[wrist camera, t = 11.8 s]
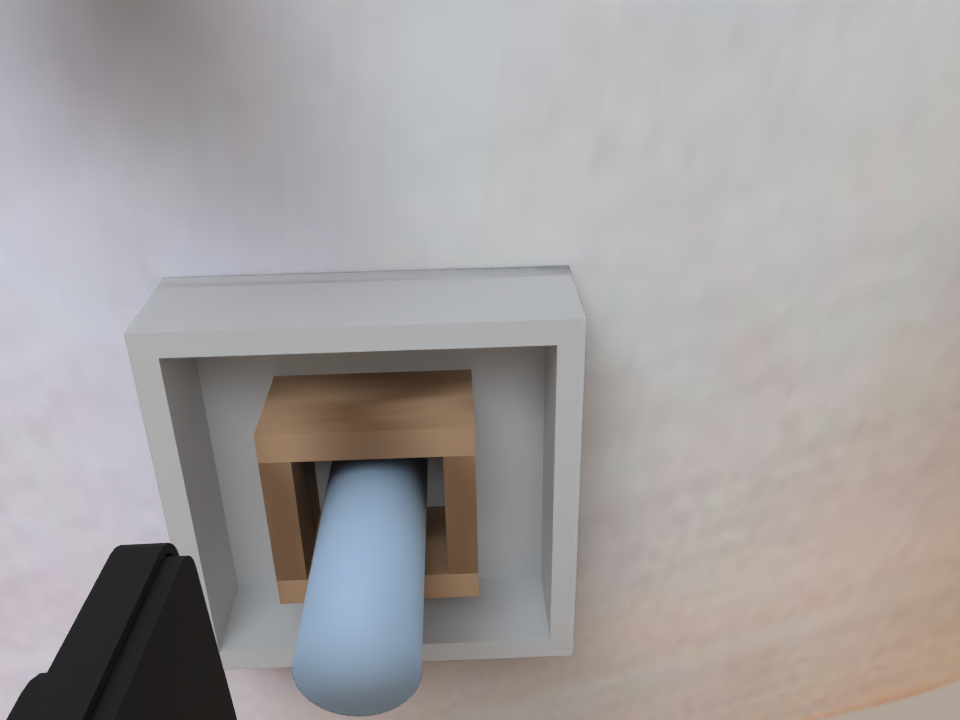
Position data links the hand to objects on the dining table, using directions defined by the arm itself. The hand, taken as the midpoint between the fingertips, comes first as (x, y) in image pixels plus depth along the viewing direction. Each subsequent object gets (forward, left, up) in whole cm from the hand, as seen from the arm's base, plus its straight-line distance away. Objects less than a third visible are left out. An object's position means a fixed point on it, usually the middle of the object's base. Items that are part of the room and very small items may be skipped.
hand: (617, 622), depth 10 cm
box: (+5, +14, -26) cm, 30 cm away
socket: (+5, +14, -26) cm, 30 cm away
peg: (+5, +14, -25) cm, 29 cm away
